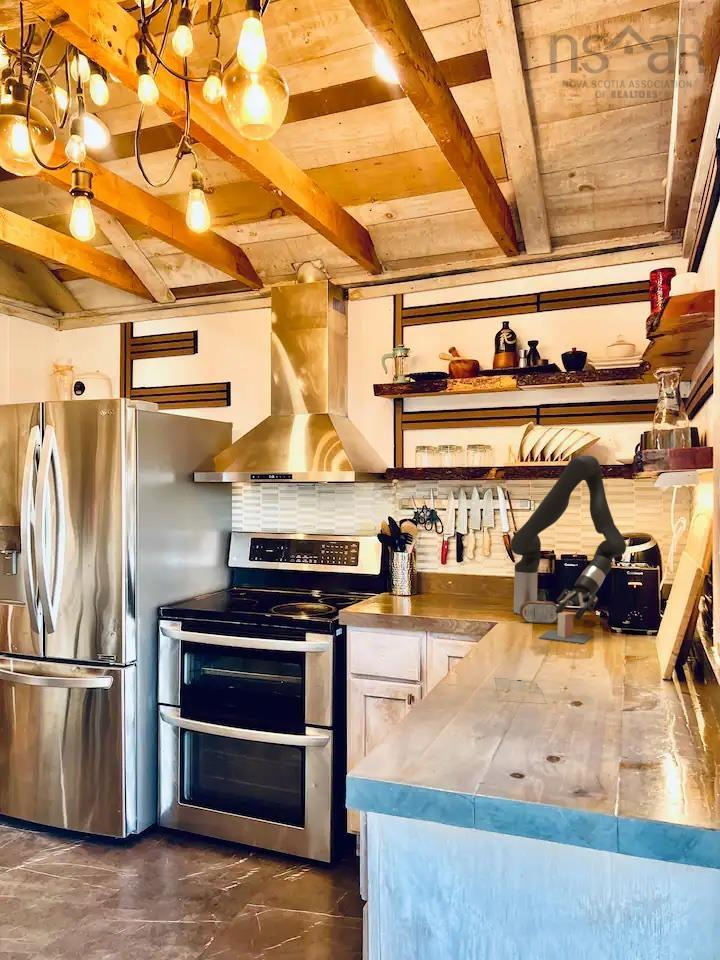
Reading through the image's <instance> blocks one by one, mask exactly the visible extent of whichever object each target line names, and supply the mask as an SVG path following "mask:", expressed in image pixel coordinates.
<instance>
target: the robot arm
mask: <svg viewBox="0 0 720 960" xmlns="http://www.w3.org/2000/svg"><path fill="white" fill-rule="evenodd" d="M601 469H602V468H601V466H600V462H599V461H598V459H597V458H596V457H595V456H593V455H578V456H577V455H576V456H574V457H573V458H571V459H570V460H569V461H568V463H567V464H566V466H565V468H564V470H563V471H562V473H561V475H560V476H559V478H558V479H557V481H556V482H555V483H554V485H553V486H552V487H551V489H550V490H549V492H548V493H547V495H546V496H545V497H544V498H543V499H542V501H541V502H540V503H539V505H538V507H537V508H536V509H535V510H534V512H533V513H532V515H530V517H529V518H528V519H527V521H526V522H525V523H524V524H523V525H522V526H521V528H519V529H518V531H516V533H515V534H514V535H513V536H512V538H511V541H510V550H511V552H512V553H513V554H515V555H517V556H521V559H520V560H519V561H518V562H516V563H515V564H514V580H513V581H514V583H513V584H514V586H513V613H514V614H516V613H517V615H520V607H521V605H522V604H523V603H524V602H526V601H538V573H539V572H538V569H539V566H540V563H541V550H542V549H541V548H542V543H541V539H540V537H539V534H541V533H542V532H543V531H545V530H546V529H548V528H549V527H551V526H552V525H554V524H555V523H557V521H558V520H559V519H560V518H561V517H562V516H563V515H564V513H565V512H566V511H567V508H568V506H569V504H570V499H571V494H572V493H573V491H574V490H575V488H576V487H577V486H578V485H579V484H581V482H583V481H585V483H586V486H587V488H588V492H589V513H590V518H591V521H592V523H593V526H594V529H595V532H596V533H597V534H598V535H599V534H600V535H603V537H604V539H605V540H602V541H601V542H600V543H599V544H598V546H597V548H596V550H595V553H594V555H593V558H592V559H591V560H590V562H589V564H588V565H587V567H586V568H585V569H584V570H582V573H581V575H580V576H579V577H578V579H577V580H576V581H575V583H574V586H573V589H571V591H570V590H568V588H564V589H563V591H562V592H561V594H560V595H559V596H558V597H557V599H556V602H557V603H558V605H557V606H558V607H557V609H556V613H557V615H558V613H563V612H564V610H565V609H566V607H568V606H572V605H577V606H580V607H579V608H578V609H577V611H576V612H575V614H573V618H574V619H576V620H577V621H579V620H580V619H581V618H582V617H583V616H584V614H585V613H587V612H589V613H591V612H592V611H593V610H594V608H595V606H596V605H597V603H598V601H599V598H598V597H597V595H596V593H597V592H598V590H599V589H600V588H601V586H602V584H603V582H604V580H605V578H607V575H608V574H609V572H610V570H611V568H612V560H614V558H618V557H621V556H623V555H624V554H625V553H626V551H627V543H626V539H625V538H624V537H623V534H621V532H620V530H619V529H618V528H617V526H616V524H615V521H614V519H613V516H612V513H611V509H610V506H609V504H608V501H607V496H606V492H605V491H606V490H605V486H604V480H603V476H602V475H603V474H602V470H601Z"/></svg>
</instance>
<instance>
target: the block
mask: <svg viewBox="0 0 720 960" xmlns="http://www.w3.org/2000/svg"><path fill="white" fill-rule="evenodd" d="M557 631H558V636H559V637H563V638H566V637H573V633H574V613H572V612H567V611H565V612H564V611H563V612H562V613H558V620H557Z"/></svg>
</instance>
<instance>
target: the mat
mask: <svg viewBox="0 0 720 960" xmlns="http://www.w3.org/2000/svg"><path fill="white" fill-rule="evenodd" d="M592 636H593V635H592V634H585V633H576V632H573V637H566V638H563V637H559V636H558V630H553V629H548V630H546V631H545V632H544V633H543V634H541V635H540V636H539V637H538V639H539V640H546V641H553V640H554V642H560V641H562V642H561V643H568V642H569V644H576V643H578V644H577V645H583V644H584V645H585V644H586V643H587V642H588V641H589V640H590V639H591V638H592Z"/></svg>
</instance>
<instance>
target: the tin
mask: <svg viewBox="0 0 720 960" xmlns="http://www.w3.org/2000/svg"><path fill="white" fill-rule="evenodd" d="M558 606H559V605H557V604H556V602H553V601H548V600H547V601H545V600H543V601H542V600H537V601H526V602H524V603H523V604H522V605H521V607H520V614H519V615H520V617H521V618H522V620H524V622H526V623H528V622H529V623H530V624H541V625H552V624H554V623H556V622H558V615H557V613H556V609H557V607H558ZM529 623H528V624H529Z"/></svg>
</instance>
